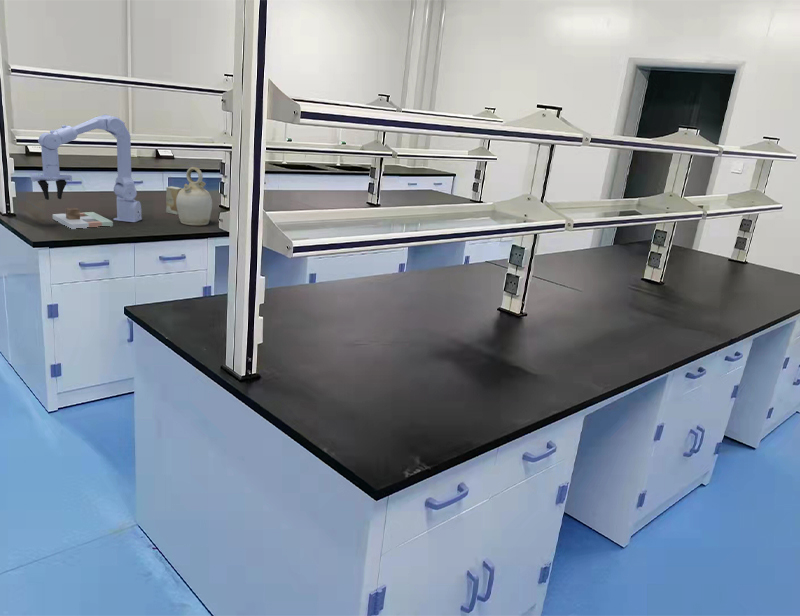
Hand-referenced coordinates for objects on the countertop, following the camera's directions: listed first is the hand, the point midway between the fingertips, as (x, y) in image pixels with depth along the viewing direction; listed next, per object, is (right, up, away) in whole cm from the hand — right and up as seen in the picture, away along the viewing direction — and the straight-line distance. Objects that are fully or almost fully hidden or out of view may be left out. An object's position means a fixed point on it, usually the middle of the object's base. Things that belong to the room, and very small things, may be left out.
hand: (53, 199), depth 252 cm
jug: (+46, -5, +32) cm, 56 cm away
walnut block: (+4, -7, +8) cm, 11 cm away
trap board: (+7, -8, +11) cm, 16 cm away
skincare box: (+32, +1, +46) cm, 56 cm away
